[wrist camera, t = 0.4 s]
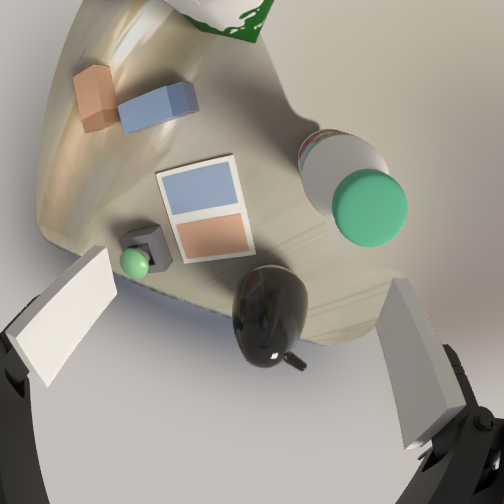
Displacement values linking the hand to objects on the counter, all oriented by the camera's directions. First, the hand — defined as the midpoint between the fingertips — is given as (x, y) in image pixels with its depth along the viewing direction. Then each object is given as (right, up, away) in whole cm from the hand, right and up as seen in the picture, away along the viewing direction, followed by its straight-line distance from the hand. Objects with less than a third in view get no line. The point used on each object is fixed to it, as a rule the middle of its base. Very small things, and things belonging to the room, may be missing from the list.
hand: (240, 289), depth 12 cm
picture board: (-6, +7, +26) cm, 27 cm away
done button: (-16, +1, +27) cm, 31 cm away
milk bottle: (+10, +13, +20) cm, 26 cm away
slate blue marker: (-11, +20, +20) cm, 30 cm away
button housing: (-15, +2, +29) cm, 33 cm away
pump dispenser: (+4, -3, +30) cm, 30 cm away
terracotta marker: (-21, +24, +19) cm, 37 cm away
